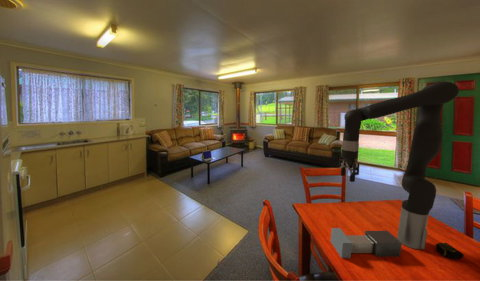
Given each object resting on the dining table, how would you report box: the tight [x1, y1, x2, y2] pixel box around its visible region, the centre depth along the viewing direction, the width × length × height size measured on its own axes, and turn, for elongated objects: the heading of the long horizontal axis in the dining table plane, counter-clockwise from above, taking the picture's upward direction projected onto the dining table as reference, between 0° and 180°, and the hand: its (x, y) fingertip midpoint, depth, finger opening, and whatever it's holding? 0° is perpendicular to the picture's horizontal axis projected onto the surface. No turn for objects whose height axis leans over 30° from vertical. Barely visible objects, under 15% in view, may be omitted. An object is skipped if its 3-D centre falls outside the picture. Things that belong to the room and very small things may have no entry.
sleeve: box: [364, 230, 403, 258], centre depth 82 cm, size 10×8×7 cm
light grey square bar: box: [345, 234, 375, 254], centre depth 82 cm, size 17×6×6 cm, turn 89°
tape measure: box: [435, 242, 465, 260], centre depth 79 cm, size 7×7×4 cm
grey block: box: [330, 227, 352, 259], centre depth 82 cm, size 4×10×7 cm, turn 178°
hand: (347, 178), depth 95 cm, fingers open, 8 cm apart
